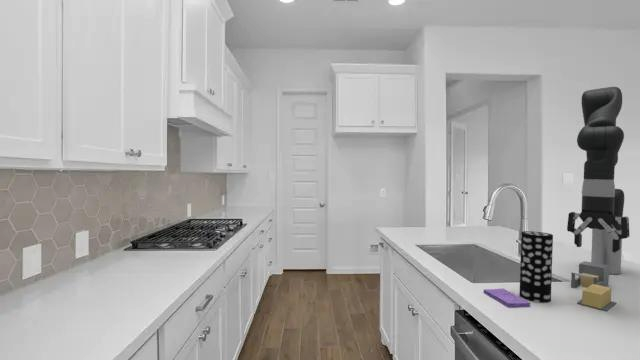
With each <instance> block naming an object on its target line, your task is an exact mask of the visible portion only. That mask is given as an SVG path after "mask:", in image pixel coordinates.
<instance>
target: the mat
mask: <svg viewBox="0 0 640 360" xmlns="http://www.w3.org/2000/svg"><path fill="white" fill-rule="evenodd" d="M576 304H577V305H581V306H583V307H589V308H592V309H596V310H599V311H603V312H608V311H609V310H610V309H612V308H614V306H616V305H617V301H612V300H611V301H610V302H609V303H608V304H607V305H605V306H604V307H603V308H597V307H593V306H589V305H585V304H582V299H580V300H579V301H577V302H576Z"/></svg>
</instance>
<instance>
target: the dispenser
mask: <svg viewBox="0 0 640 360" xmlns="http://www.w3.org/2000/svg"><path fill="white" fill-rule="evenodd" d="M609 275H610V274H609V265H603V264H597V263H592V262H591V261H585V260H584V261H582V262H581V263H578V272H574V271H572V272H571V276H570V277H571V282H570V287H571V288H573V289H575V288H577V287H579V286H580V287H585V288H587V287H589V286H590V285H592V284H595V285H600V286H605V287H608V286H609V280H610V279H609V278H610V276H609ZM576 276H577V277H576Z"/></svg>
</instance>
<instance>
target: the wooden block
mask: <svg viewBox="0 0 640 360" xmlns="http://www.w3.org/2000/svg"><path fill="white" fill-rule="evenodd" d="M581 293H582V295H581V296H582V297H581V300H582V304H585V305H589V306H593V307H597V308H603V307H604V306H605V305H607V304H608V303H609V302H610V301H612V287H608V286H607V287H605V286H600V285H595V284H592V285H590V286H589V287H585V288H584V289H582V291H581Z"/></svg>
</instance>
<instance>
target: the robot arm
mask: <svg viewBox="0 0 640 360" xmlns="http://www.w3.org/2000/svg"><path fill="white" fill-rule="evenodd" d="M622 106H623V92H622V90H621V89H620V88H619V87H618V86H607V87H602V88H594V89H589V90H585V91H584V92H583V93H582V96H581V111H582V116H583V124H584V126H583V127H582V128H581V129H580V130H579V132H578V135H577V138H576V143H577V146H578V148H579V149H581V150H583V151H585V152H586V153H585V154H586V161H584V164H583V181H582V186H581V188H582V189H581V212H580V213H578V212H576V211H575V212H574V211H570V212H569V213H568V215H567V216H568V217H567V218H568V219H567V225H566V226H567V228H566V231H567V232H570V233H572V234H574V240H573V241H574V242H573V243H574V245H575V246H576V247H577V248H581V247H582V246H583V234H582V232H584V231H585V230H586V229H587V228H588V229H592V231H591V234H592V235H591V255H590V256H591V258H590V259H591V260H590V262H592V263H597V264H603V265H609V275H620V274H621V272H622V245H623V239H628V238H629V237H630V218H629V217H628V216H626V215H625V216H623V215H624V206H625V192H624V190H622V189H621V188H616V185H615V168H616V167H615V166H616V165H617V164H618V162H619V152H620V149H621V147H622V144H623V142H624V139H625V133H624V130H623V129H622V128H621V127H620V126H617V118H618V117H619V115H620V112H621V110H622ZM578 219H580V220H581V221H582V223H581V224H579V226H578V227H577V228H576V226H575V225H576V220H578Z"/></svg>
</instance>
